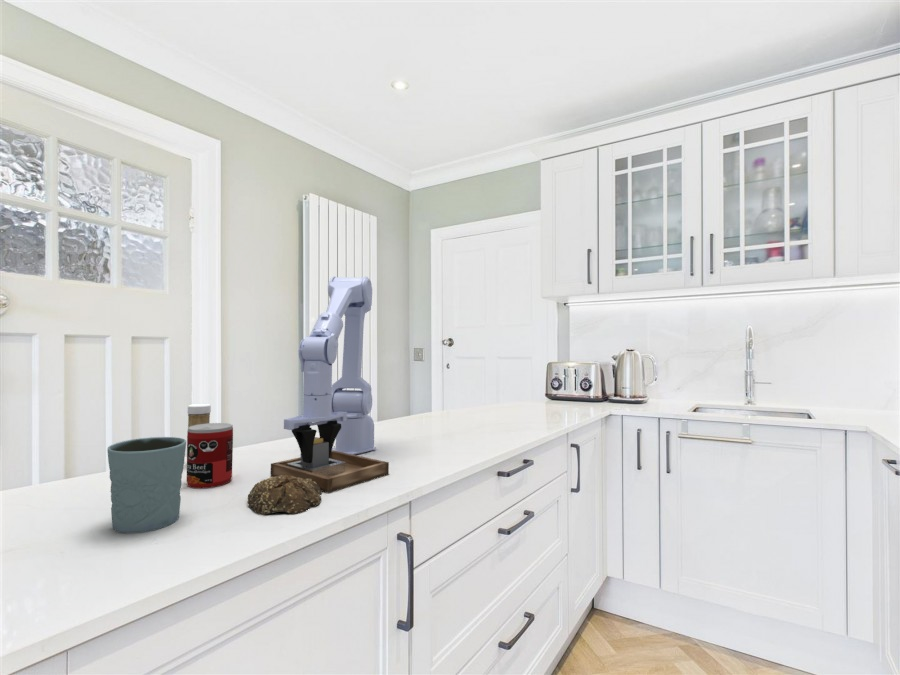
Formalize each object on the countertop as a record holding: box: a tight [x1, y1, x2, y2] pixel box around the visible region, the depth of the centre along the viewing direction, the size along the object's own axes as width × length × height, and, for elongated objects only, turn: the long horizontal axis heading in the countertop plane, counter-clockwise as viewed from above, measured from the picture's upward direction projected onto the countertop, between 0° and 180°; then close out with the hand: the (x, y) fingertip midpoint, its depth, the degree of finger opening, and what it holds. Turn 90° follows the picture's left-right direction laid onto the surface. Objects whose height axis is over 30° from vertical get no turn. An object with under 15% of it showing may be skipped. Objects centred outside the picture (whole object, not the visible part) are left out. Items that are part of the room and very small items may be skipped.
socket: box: [287, 458, 346, 477], centre depth 98 cm, size 8×8×2 cm
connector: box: [300, 436, 329, 468], centre depth 98 cm, size 4×4×7 cm
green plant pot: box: [106, 436, 187, 534], centre depth 72 cm, size 10×10×12 cm
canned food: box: [186, 422, 234, 489], centre depth 92 cm, size 8×8×11 cm
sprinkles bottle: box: [187, 403, 212, 428], centre depth 105 cm, size 5×5×14 cm
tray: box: [270, 450, 390, 494], centre depth 98 cm, size 16×18×2 cm
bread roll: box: [247, 475, 323, 516], centre depth 82 cm, size 13×12×5 cm
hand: (316, 459), depth 98 cm, fingers closed on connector, 4 cm apart
